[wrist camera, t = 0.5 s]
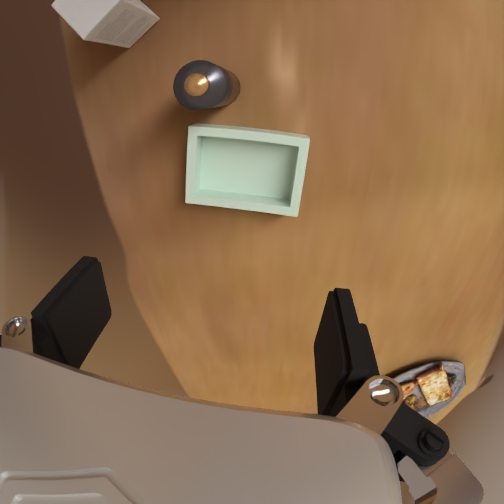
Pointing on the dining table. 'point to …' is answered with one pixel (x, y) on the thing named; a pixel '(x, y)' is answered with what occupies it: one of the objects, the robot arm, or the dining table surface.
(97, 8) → the small box
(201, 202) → the trough
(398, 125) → the dining table surface
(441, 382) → the food plate
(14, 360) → the robot arm
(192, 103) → the cylinder
